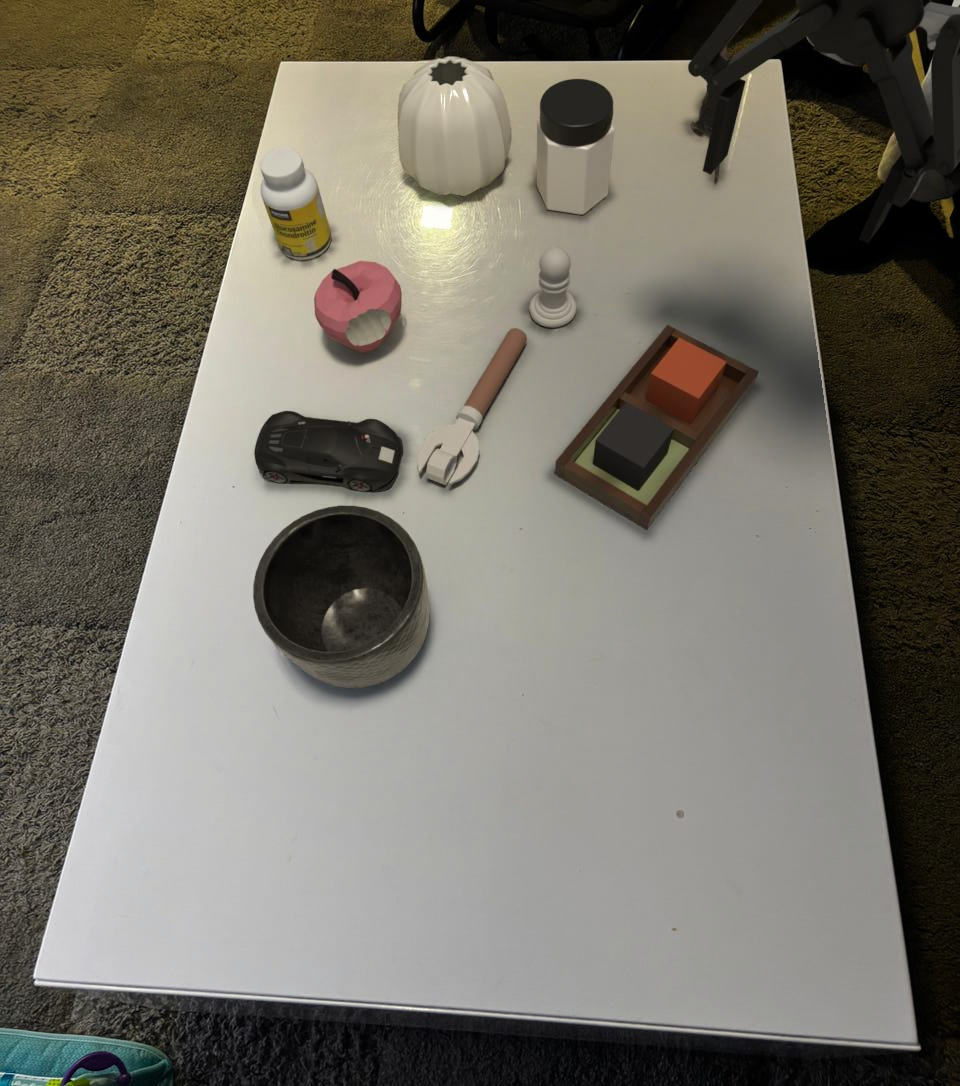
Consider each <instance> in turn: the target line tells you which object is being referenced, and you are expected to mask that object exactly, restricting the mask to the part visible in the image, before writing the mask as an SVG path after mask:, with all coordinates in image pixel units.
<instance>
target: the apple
mask: <svg viewBox="0 0 960 1086" xmlns="http://www.w3.org/2000/svg"><path fill="white" fill-rule="evenodd" d="M402 293H403V292H402V287H401V285H400V283H399V282H398V281H397V279H396V278H395V276H394V275H393V273H392V272H391V270H389V268H388V267H387V266H384V265H383V264H381V263H379V262H376V261H370V260H369V261H368V260H358V261H356V262H354V263H350V264H348V265H345V266H342V267H339V268H338V267H337V268H333V269H332V270H331V271H330V272H329V273H328V274H327V275H326V276H325V277H324V278H323V279H322V280H321V282H320V284H319V286H318V287H317V288H316V291H315V293H314V297H313V303H314V306H313V307H314V316H315V319H316V321H317V323H318V325H319V326H320V327H321V329H322V330H323V332H324V333H325V334H326V335H327V336H328V337H329V338H330V339H332V340H334V341H336V342H338V343H341V344H343V345H344V346H346V347H347V348H349V349H352V350H354V351H356V352H358V353H360V354H364V353H368V352H373V351H376V350H377V349H378V347H379V346H380V345H381V343H383V342H384V341H385V340H386V339H387V338H388V336H389V334H390V332H391V331H392V329H393V327H394V326H395V325H396V323H397V321H398V320H399V317H400V316H401V314H402V305H403V304H402V299H403V298H402V297H403V296H402V295H403V294H402Z"/></svg>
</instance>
